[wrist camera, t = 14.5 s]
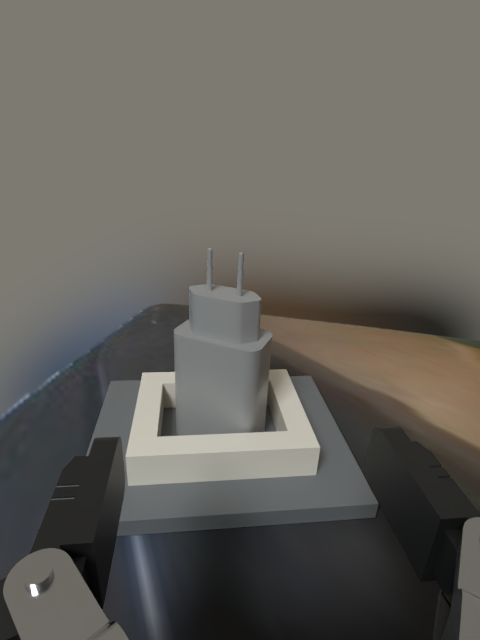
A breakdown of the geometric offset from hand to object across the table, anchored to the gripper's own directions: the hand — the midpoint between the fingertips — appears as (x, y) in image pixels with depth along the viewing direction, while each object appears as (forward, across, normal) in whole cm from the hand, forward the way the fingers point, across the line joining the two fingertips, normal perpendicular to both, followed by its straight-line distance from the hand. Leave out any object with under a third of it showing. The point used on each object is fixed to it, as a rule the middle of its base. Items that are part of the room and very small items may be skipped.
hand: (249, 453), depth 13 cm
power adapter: (+11, 0, +8) cm, 14 cm away
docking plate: (+11, 0, +9) cm, 15 cm away
